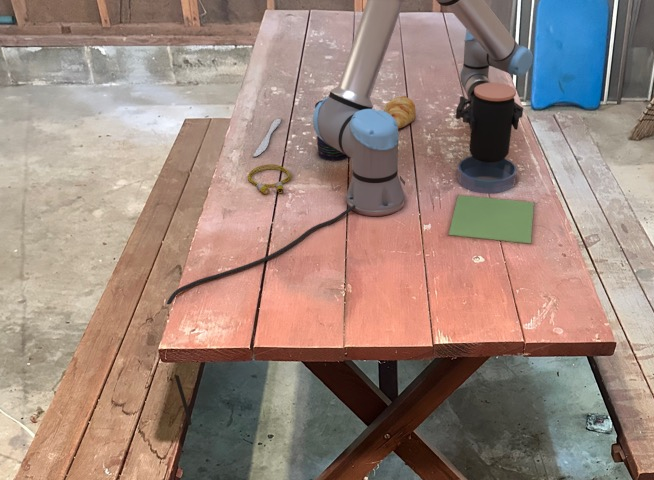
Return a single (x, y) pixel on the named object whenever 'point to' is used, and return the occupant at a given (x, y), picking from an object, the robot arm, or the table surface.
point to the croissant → (401, 110)
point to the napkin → (492, 219)
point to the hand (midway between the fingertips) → (494, 125)
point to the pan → (486, 175)
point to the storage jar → (328, 150)
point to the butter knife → (267, 138)
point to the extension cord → (264, 188)
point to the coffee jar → (492, 121)
